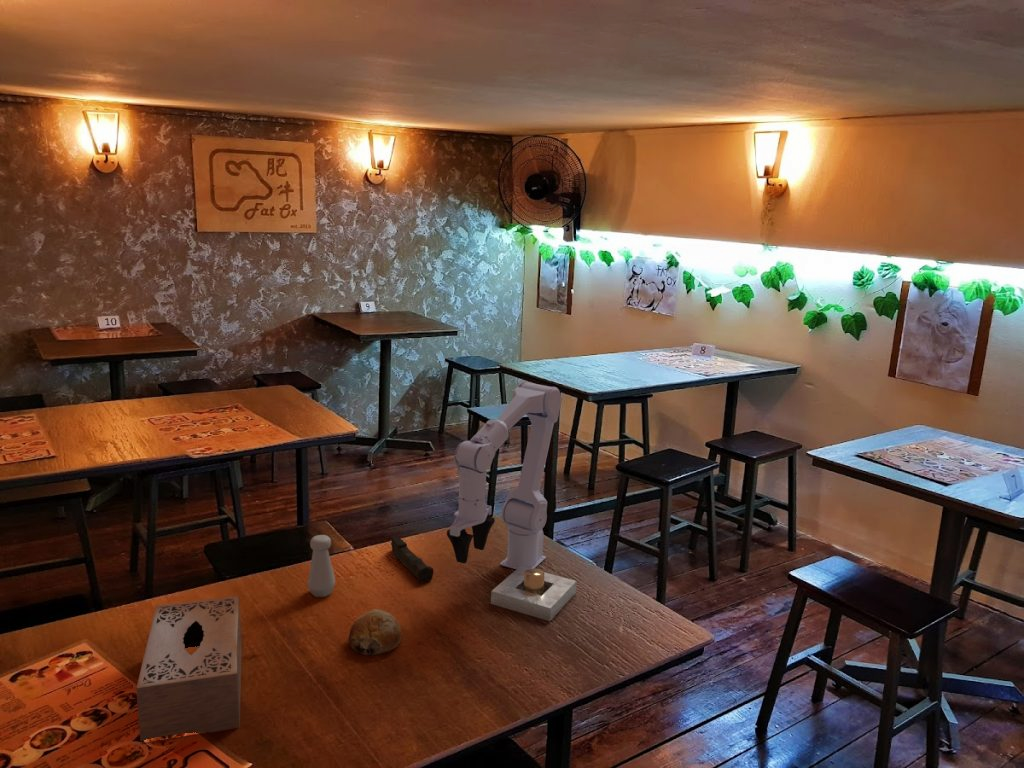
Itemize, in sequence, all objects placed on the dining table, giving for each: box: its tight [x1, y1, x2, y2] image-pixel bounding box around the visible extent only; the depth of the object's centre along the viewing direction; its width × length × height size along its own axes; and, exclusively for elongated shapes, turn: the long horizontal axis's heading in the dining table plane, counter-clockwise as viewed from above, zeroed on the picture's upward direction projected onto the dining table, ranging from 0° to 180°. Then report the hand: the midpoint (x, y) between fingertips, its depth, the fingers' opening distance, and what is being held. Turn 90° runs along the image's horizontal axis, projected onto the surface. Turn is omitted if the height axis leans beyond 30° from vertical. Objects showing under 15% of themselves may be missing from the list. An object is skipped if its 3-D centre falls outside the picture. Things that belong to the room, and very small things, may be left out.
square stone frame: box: [490, 566, 577, 622], centre depth 166 cm, size 14×14×3 cm
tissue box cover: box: [136, 595, 243, 742], centre depth 130 cm, size 26×14×10 cm, turn 19°
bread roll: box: [348, 608, 402, 656], centre depth 146 cm, size 10×10×8 cm
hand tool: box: [390, 536, 435, 584], centre depth 179 cm, size 19×4×5 cm, turn 30°
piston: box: [524, 568, 545, 596], centre depth 165 cm, size 4×4×6 cm
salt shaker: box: [307, 534, 336, 598], centre depth 163 cm, size 6×6×13 cm
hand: (470, 555), depth 164 cm, fingers open, 7 cm apart
